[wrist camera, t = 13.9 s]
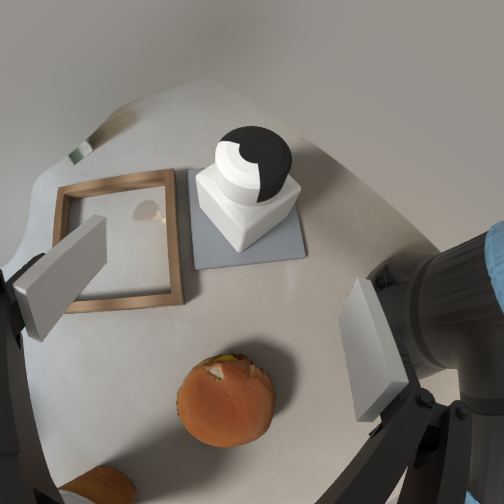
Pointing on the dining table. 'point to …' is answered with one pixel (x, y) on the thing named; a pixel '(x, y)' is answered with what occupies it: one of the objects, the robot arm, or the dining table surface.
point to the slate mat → (223, 253)
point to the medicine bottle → (248, 185)
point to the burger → (226, 401)
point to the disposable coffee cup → (99, 488)
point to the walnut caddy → (169, 181)
